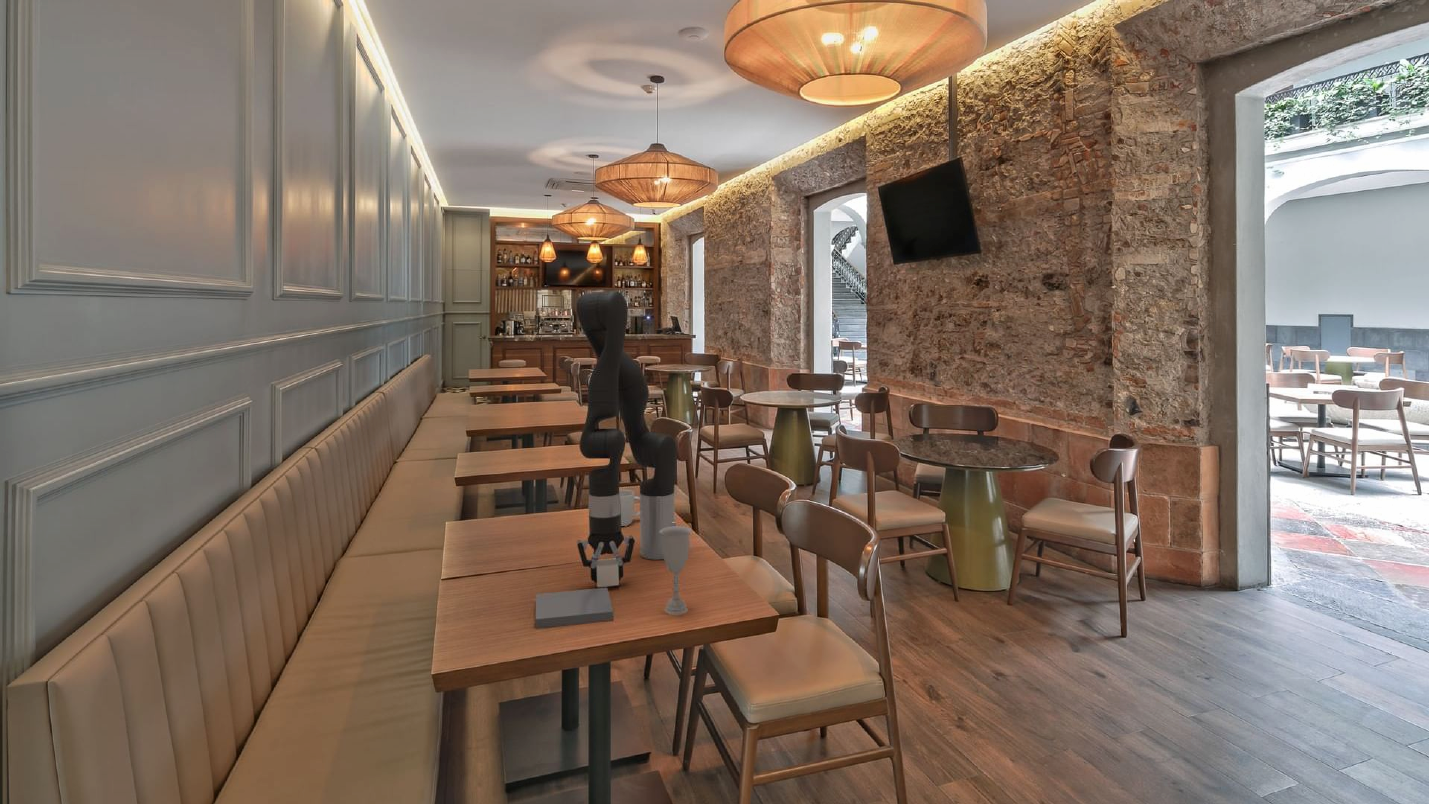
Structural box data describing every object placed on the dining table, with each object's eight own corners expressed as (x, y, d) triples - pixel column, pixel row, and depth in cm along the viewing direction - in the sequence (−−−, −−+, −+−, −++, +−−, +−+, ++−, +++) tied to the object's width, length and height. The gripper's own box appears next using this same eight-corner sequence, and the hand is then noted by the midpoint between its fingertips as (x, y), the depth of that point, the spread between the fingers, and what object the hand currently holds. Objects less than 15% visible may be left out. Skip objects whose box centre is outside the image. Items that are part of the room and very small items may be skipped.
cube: (616, 577, 175) (615, 557, 174) (618, 585, 170) (618, 564, 169) (595, 579, 173) (595, 559, 173) (597, 587, 169) (596, 566, 168)
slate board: (607, 595, 166) (607, 587, 166) (613, 620, 152) (613, 611, 152) (536, 602, 162) (536, 594, 162) (536, 628, 149) (535, 619, 148)
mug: (612, 530, 217) (612, 498, 216) (601, 523, 225) (600, 491, 224) (650, 523, 224) (649, 492, 223) (638, 517, 232) (637, 486, 230)
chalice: (679, 619, 153) (678, 537, 151) (653, 612, 156) (652, 532, 154) (698, 607, 159) (697, 529, 157) (673, 601, 162) (672, 524, 160)
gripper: (632, 505, 175) (634, 572, 177) (573, 510, 171) (575, 578, 173) (637, 513, 168) (639, 583, 170) (575, 518, 164) (577, 589, 166)
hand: (607, 580), depth 172 cm, fingers closed on cube, 5 cm apart
